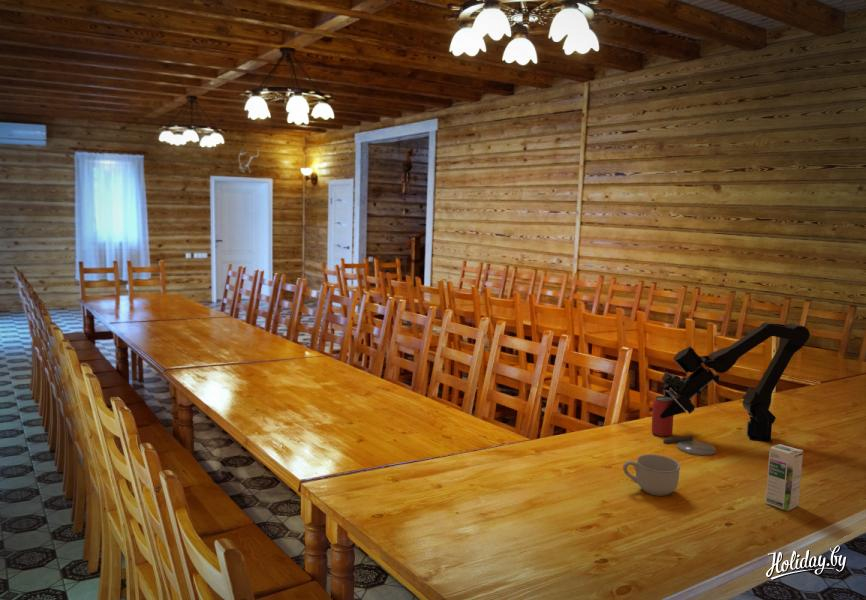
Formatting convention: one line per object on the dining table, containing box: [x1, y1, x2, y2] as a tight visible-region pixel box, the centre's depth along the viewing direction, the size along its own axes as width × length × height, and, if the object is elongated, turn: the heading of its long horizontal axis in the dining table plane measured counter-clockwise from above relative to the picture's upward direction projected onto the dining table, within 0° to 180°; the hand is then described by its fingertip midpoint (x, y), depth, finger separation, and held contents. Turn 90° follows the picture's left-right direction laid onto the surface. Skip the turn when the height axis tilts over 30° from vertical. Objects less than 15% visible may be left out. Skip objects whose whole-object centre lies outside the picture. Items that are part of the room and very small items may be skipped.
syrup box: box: [764, 443, 804, 512], centre depth 163 cm, size 6×6×14 cm
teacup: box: [622, 453, 681, 497], centre depth 172 cm, size 14×11×8 cm
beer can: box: [651, 395, 674, 437], centre depth 218 cm, size 7×7×12 cm
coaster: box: [676, 440, 717, 456], centre depth 204 cm, size 11×11×1 cm
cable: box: [662, 434, 694, 445], centre depth 211 cm, size 11×2×2 cm, turn 111°
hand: (658, 414), depth 218 cm, fingers closed on beer can, 7 cm apart
